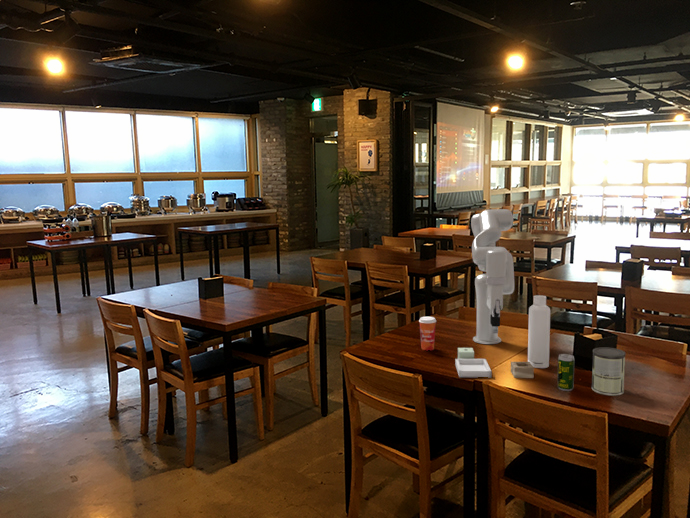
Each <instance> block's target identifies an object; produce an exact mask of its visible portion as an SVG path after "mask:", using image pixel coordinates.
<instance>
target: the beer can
mask: <svg viewBox="0 0 690 518" xmlns="http://www.w3.org/2000/svg"><path fill="white" fill-rule="evenodd" d="M556 381H557V382H556V383H557V384H556V385H557V388H558V390H559V391H564V392H571V391H573V390H574V384H575V383H574V381H575V356H574V355H572V354H569V353H568V354H567V353H561V354H560V353H559V354H558V357H557V379H556Z"/></svg>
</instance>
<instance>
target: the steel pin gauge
mask: <svg viewBox="0 0 690 518" xmlns="http://www.w3.org/2000/svg"><path fill="white" fill-rule="evenodd" d="M494 309H496V308H494ZM494 312H495V311H494ZM492 317H493V309H492ZM492 333H498V334H499V327H493V326H492Z"/></svg>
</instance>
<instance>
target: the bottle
mask: <svg viewBox="0 0 690 518" xmlns="http://www.w3.org/2000/svg"><path fill="white" fill-rule="evenodd" d="M550 331H551V308H550V306H548V305H547V296H546V295H542V294H541V295H539V294H537V295H536V294H535V295H533V304H532V305H531V306H529V307H528V331H527V333H528V339H527V341H528V343H527V362H530V363H531V365H532V366H533V367H534V369H535V368H536V369H546V368H548V367H549V366H550V344H551V343H550V341H551V340H550V336H551V335H550V334H551V332H550Z"/></svg>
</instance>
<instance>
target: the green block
mask: <svg viewBox="0 0 690 518" xmlns="http://www.w3.org/2000/svg"><path fill="white" fill-rule="evenodd" d="M457 359H475V351H474V348H473V347H457Z"/></svg>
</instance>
